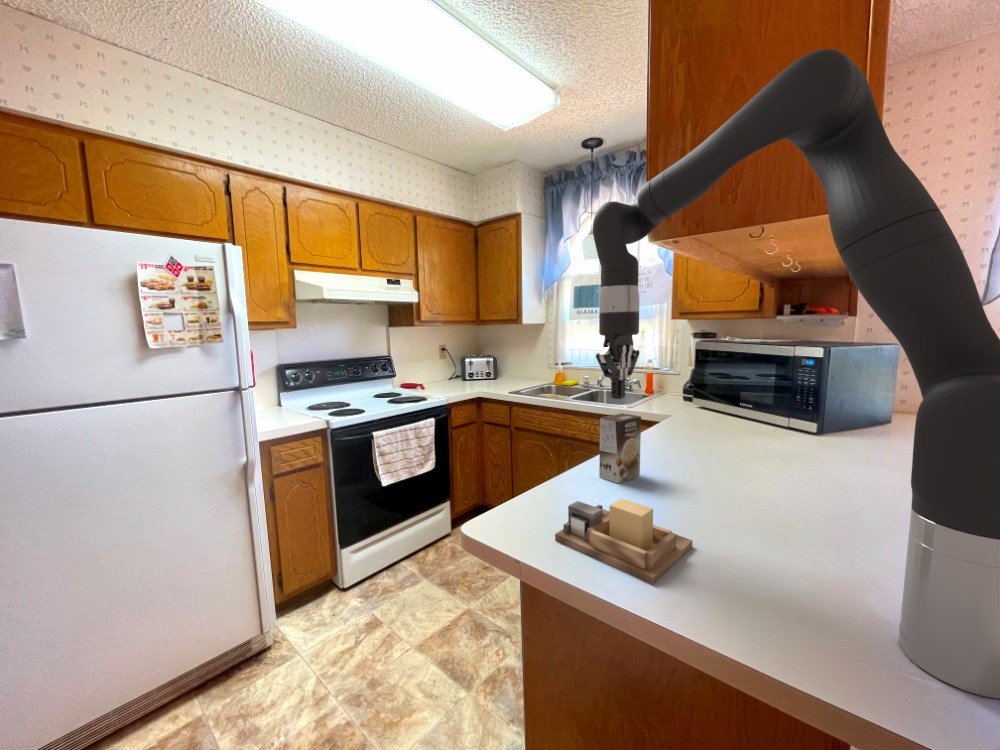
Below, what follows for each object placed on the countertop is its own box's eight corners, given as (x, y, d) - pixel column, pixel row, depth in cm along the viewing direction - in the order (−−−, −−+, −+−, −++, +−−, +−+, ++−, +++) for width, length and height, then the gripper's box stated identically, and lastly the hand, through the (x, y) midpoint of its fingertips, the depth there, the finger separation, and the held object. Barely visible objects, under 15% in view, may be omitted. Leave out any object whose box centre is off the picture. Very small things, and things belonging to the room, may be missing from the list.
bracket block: (652, 547, 70) (653, 508, 69) (641, 556, 67) (641, 516, 66) (621, 535, 74) (621, 498, 74) (609, 543, 72) (609, 505, 71)
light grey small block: (599, 528, 77) (599, 513, 76) (584, 538, 73) (584, 522, 73) (586, 523, 79) (586, 508, 78) (570, 532, 75) (570, 517, 75)
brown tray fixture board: (692, 546, 72) (693, 515, 71) (653, 584, 62) (654, 547, 61) (599, 513, 86) (599, 486, 85) (555, 539, 76) (554, 509, 75)
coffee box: (618, 484, 101) (619, 421, 100) (598, 477, 106) (598, 417, 105) (640, 476, 107) (641, 416, 105) (620, 469, 112) (621, 412, 110)
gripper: (618, 309, 72) (617, 405, 74) (653, 310, 81) (651, 395, 83) (583, 311, 77) (583, 400, 79) (619, 312, 86) (618, 392, 88)
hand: (618, 398), depth 81 cm, fingers closed
